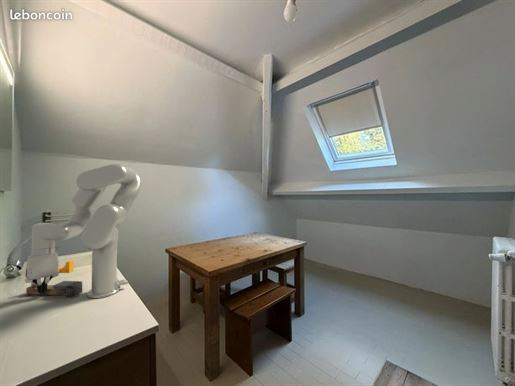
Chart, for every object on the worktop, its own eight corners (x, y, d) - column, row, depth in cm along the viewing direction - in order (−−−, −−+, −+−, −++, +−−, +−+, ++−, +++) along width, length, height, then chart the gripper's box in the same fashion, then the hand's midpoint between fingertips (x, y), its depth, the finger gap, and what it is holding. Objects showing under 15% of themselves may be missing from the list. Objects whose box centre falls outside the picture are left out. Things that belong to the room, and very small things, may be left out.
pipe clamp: (45, 274, 123) (45, 262, 123) (53, 271, 127) (53, 260, 127) (66, 274, 123) (66, 263, 122) (73, 271, 127) (73, 260, 127)
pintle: (37, 284, 101) (37, 276, 101) (36, 286, 99) (36, 277, 99) (31, 286, 100) (31, 277, 100) (30, 287, 98) (30, 278, 98)
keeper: (53, 296, 96) (53, 285, 96) (64, 291, 101) (64, 280, 101) (72, 297, 96) (72, 286, 96) (82, 292, 101) (82, 281, 101)
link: (22, 294, 97) (22, 289, 97) (34, 289, 102) (34, 284, 102) (63, 295, 97) (63, 289, 97) (73, 290, 102) (73, 284, 102)
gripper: (62, 246, 104) (61, 284, 104) (16, 253, 92) (15, 296, 92) (68, 249, 100) (66, 289, 100) (21, 256, 88) (19, 302, 88)
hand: (42, 292), depth 96 cm, fingers closed
